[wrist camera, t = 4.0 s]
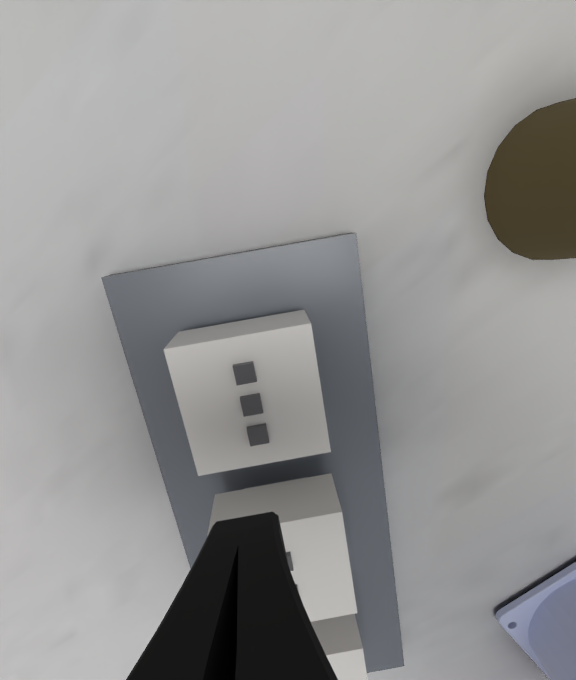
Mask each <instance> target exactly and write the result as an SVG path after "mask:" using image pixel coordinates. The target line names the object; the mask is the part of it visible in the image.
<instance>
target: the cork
mask: <svg viewBox="0 0 576 680" xmlns="http://www.w3.org/2000/svg"><path fill="white" fill-rule="evenodd" d="M484 198H485V205H486V211H487V218H488V221H489V223H490V225H491V227H492V229H493V231H494V233H495V234H496V236H497V238H498V240H500V241H501V242H502V243H503V244H504V245H505V246H506V247H507V248H509V249H510V250H511V251H512V252H513V253H516V254H518V255H521V256H524V257H527V258H529V259H532V260H554V259H567V258H576V98H575V99H570V100H566V101H562V102H559V103H556V104H553V105H550V106H547V107H544V108H541V109H538V110H536V111H535V112H533V113H532V114H530V115H529V116H528V117H526V118H525V119H524V120H522V121H521V122H519V123H518V124H517V125H515V126H514V128H513V129H512V130H511V132H510V133H509V134H508V135H507V137H506V138H505V139H504V140H503V142H502V143H501V144H500V145H499V147H498V149H497V151H496V154H495V156H494V158H493V160H492V163H491V165H490V167H489V170H488V173H487V180H486V188H485V195H484Z"/></svg>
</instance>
